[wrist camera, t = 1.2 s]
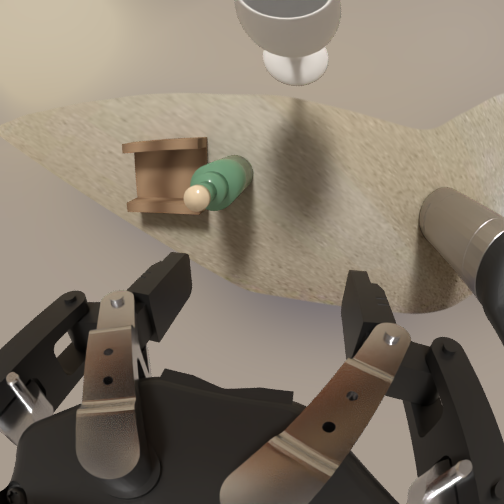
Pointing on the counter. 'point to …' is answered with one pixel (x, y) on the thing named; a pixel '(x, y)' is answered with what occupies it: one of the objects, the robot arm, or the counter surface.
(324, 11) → the wineglass
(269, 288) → the counter surface
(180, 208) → the brown wooden u-shaped block
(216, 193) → the bottle
